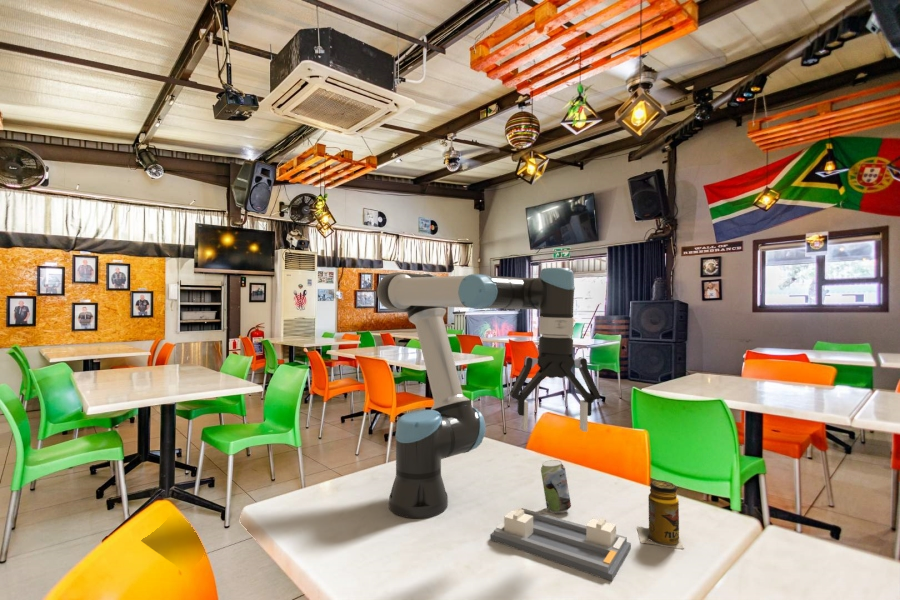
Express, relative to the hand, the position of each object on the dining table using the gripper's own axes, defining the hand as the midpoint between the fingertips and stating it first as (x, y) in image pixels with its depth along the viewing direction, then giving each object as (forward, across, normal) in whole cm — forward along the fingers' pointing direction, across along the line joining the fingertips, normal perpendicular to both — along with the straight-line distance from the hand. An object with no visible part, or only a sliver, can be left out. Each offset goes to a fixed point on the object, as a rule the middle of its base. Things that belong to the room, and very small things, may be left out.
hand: (554, 430), depth 101 cm
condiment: (+23, +23, -4) cm, 33 cm away
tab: (+22, -8, -3) cm, 23 cm away
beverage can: (+24, +4, +11) cm, 27 cm away
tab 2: (+21, +8, -8) cm, 24 cm away
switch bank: (+23, 0, -5) cm, 24 cm away
